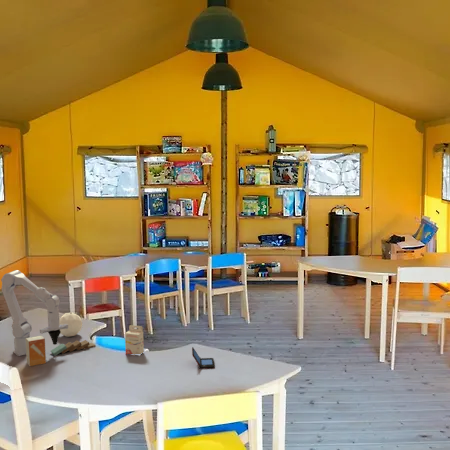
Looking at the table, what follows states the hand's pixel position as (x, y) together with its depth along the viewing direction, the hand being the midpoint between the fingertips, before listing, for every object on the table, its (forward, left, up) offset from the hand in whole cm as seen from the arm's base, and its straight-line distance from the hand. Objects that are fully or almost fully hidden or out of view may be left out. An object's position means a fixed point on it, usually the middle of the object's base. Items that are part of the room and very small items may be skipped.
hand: (54, 344), depth 298 cm
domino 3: (0, +7, -5) cm, 9 cm away
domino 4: (0, +11, -5) cm, 12 cm away
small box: (+7, -13, -6) cm, 15 cm away
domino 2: (0, +3, -5) cm, 5 cm away
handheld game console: (+62, +51, -6) cm, 81 cm away
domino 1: (0, -1, -5) cm, 5 cm away
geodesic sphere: (-25, +19, -6) cm, 32 cm away
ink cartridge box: (+27, +32, -6) cm, 43 cm away
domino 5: (0, +15, -5) cm, 16 cm away
